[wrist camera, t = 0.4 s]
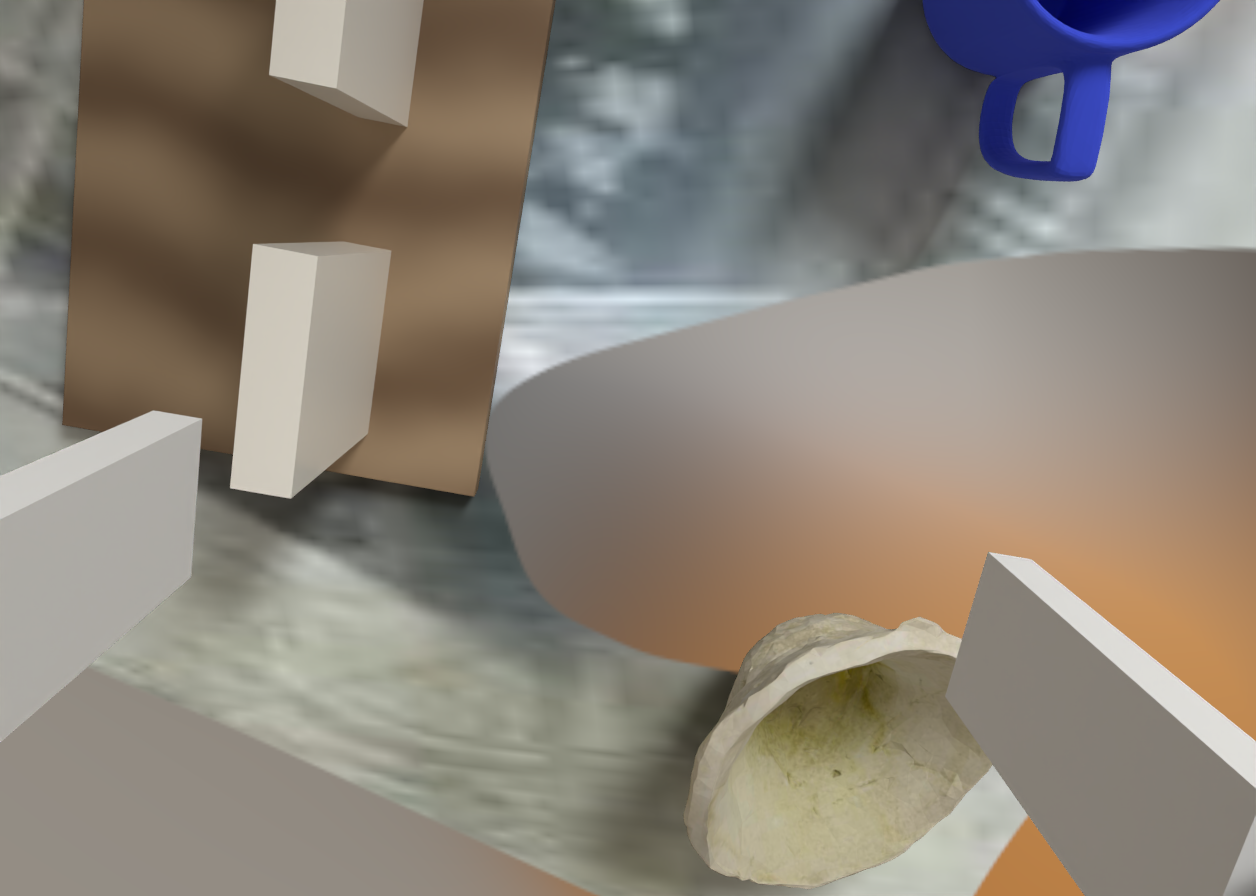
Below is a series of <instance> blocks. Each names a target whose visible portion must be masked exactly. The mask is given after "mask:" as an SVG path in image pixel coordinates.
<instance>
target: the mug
mask: <svg viewBox="0 0 1256 896" xmlns="http://www.w3.org/2000/svg"><path fill="white" fill-rule="evenodd" d="M1219 1H1220V0H923V9H924V14H925V18H926V21H927V24H928V27H929V29H930V32H931V34H932V35H933V37H934V39H935V41H936V42H937V44H938V45H939V47H940V48H941V49H942V50H943V51H944V52H945V53H946V54H947V55H948V56H949V57H950V58H951V59H952V60H954V61H955V62H956V63H958V64H960V65H962V66H963V67H965V68H967V69H970V70H973V71H976V72H979V73H983V74H987V75H992V76H995V77H996V79H994V80H993V81H992V82H991V84H990V85H989V87H988V90H987V92H986V95H985V98H984V101H983V106H982V111H981V116H980V124H979V144H980V149H981V152H982V155H983V157H984V159H985V160H986V162H987V163H988V164H989V165H990V166H991V167H992V168H994V169H995V170H997V171H1000V172H1002V173H1004V174H1007V175H1010V176H1013V177H1019V178H1025V179H1033V180H1044V181H1079V180H1083V179H1086V178H1088V177H1090V176H1091V174H1092V173H1093V172H1094V169H1095V167H1096V163H1097V159H1098V154H1099V150H1100V146H1101V141H1102V137H1103V132H1104V126H1105V120H1106V114H1107V108H1108V102H1109V94H1110V80H1111V65H1112V62H1113V60H1114V59H1115V58H1118V57H1120V56H1123V55H1126V54H1129V53H1132V52H1136V51H1139V50H1143V49H1147V48H1150V47H1153V46H1155V45H1158V44H1161V43H1163V42H1165V41H1167V40H1170V39H1171V38H1173V37H1175V36H1177V35H1179V34H1181V33H1182V32H1184V31H1185V30H1187V29H1188V28H1190V27H1191V26H1193V25H1194V24H1195V23H1196V22H1198V21H1199V20H1200V19H1202V18H1203V17H1204V16H1205V15H1206V14H1207V13H1208V12H1209V11H1210V10H1211V9H1212V8H1213V7H1214V6H1215V5H1216V4H1217V3H1218V2H1219ZM1061 72H1063V74H1064V80H1065V84H1064V94H1063V101H1062V107H1061V113H1060V120H1059V125H1058V130H1057V135H1056V140H1055V145H1054V150H1053V155H1052V158H1051V161H1032V160H1028V159H1025V158H1023V157H1022V156H1020V155H1019V154H1018V153H1017V152H1016V150H1015V148H1014V144H1013V139H1012V120H1013V113H1014V108H1015V104H1016V99H1017V95H1018V93H1019V90H1020V88H1021V87H1022V85H1023V84H1024V83H1026V82H1028V81H1030V80H1033V79H1036V78H1040V77H1044V76H1048V75H1052V74H1057V73H1061Z"/></svg>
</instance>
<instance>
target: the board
mask: <svg viewBox="0 0 1256 896" xmlns="http://www.w3.org/2000/svg"><path fill="white" fill-rule="evenodd" d="M555 1H556V0H424V1H423V9H422V17H421V25H420V33H419V40H418V48H417V56H416V64H415V71H414V79H413V87H412V95H411V103H410V110H409V118H408V126H407V127H404V126H399V125H394V124H389V123H384V122H379V121H374V120H369V119H364V118H359V117H357V116H354V115H352V114H350V113H348V112H346V111H344V110H342V109H340V108H338V107H336V106H333V105H331V104H329V103H327V102H325V101H323V100H321V99H319V98H317V97H314V96H312V95H310V94H308V93H306V92H304V91H302V90H300V89H298V88H296V87H293V86H291V85H289V84H287V83H285V82H283V81H281V80H279V79H277V78H275V77H272V76H270V75H269V70H270V60H271V49H272V39H273V28H274V18H275V7H276V0H84V7H83V27H82V47H81V67H80V86H79V106H78V126H77V146H76V166H75V186H74V205H73V225H72V245H71V265H70V285H69V304H68V324H67V344H66V364H65V384H64V403H63V423H62V425H66V426H72V427H78V428H83V429H89V430H95V431H101V432H104V431H107V430H109V429H111V428H114V427H116V426H118V425H121V424H123V423H125V422H128V421H130V420H132V419H135V418H137V417H139V416H142V415H144V414H146V413H149V412H151V411H153V410H154V411H160V412H166V413H172V414H178V415H184V416H189V417H195V418H201V419H202V430H201V445H200V449H204V450H210V451H215V452H221V453H227V454H233V451H234V440H235V429H236V419H237V408H238V398H239V387H240V377H241V366H242V355H243V345H244V334H245V324H246V313H247V303H248V292H249V282H250V271H251V260H252V250H253V244H268V243H305V242H342V241H344V242H349V243H354V244H360V245H365V246H370V247H375V248H380V249H386V250H391V258H390V266H389V274H388V281H387V289H386V297H385V305H384V313H383V320H382V328H381V336H380V344H379V351H378V359H377V367H376V375H375V382H374V390H373V398H372V406H371V414H370V421H369V429H368V434H367V435H366V436H365V437H364V438H362V439H361V440H360V441H359V442H358V443H356V444H355V445H354V446H353V447H352V448H350V449H349V450H348V451H347V452H346V453H345V454H343V455H342V456H341V457H340V458H339V459H337V460H336V461H335V462H334V463H333V464H331V465H330V466H329V467H328V468H327V469H326V470H325V471H330V472H336V473H342V474H348V475H353V476H359V477H365V478H371V479H376V480H382V481H388V482H394V483H399V484H405V485H411V486H416V487H422V488H428V489H434V490H439V491H445V492H451V493H457V494H462V495H468V496H475V494H476V492H477V490H478V485H479V479H480V473H481V466H482V460H483V454H484V448H485V441H486V435H487V429H488V422H489V416H490V410H491V403H492V397H493V391H494V385H495V378H496V372H497V366H498V359H499V353H500V347H501V341H502V334H503V328H504V322H505V315H506V309H507V303H508V297H509V290H510V284H511V278H512V271H513V265H514V259H515V252H516V246H517V240H518V234H519V227H520V221H521V215H522V208H523V202H524V196H525V190H526V183H527V177H528V171H529V164H530V158H531V152H532V146H533V139H534V133H535V127H536V120H537V114H538V108H539V101H540V95H541V89H542V83H543V76H544V70H545V64H546V57H547V51H548V45H549V39H550V32H551V26H552V20H553V13H554V7H555Z"/></svg>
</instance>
